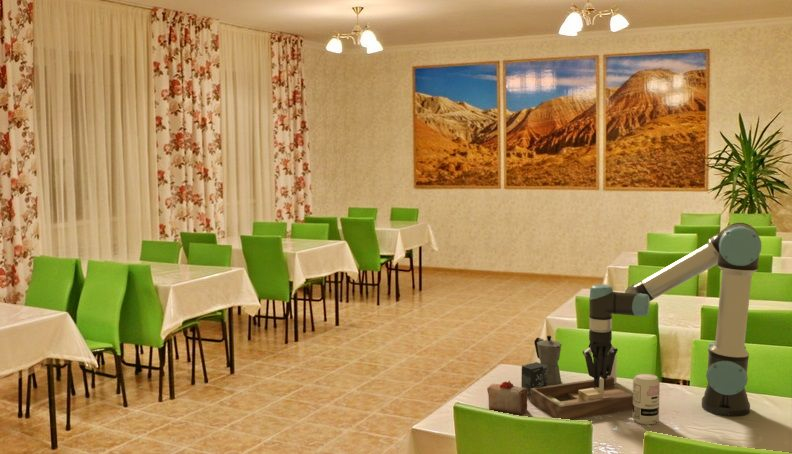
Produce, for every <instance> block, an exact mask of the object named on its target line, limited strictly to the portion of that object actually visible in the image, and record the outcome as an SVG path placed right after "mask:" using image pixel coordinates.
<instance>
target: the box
mask: <svg viewBox="0 0 792 454" xmlns="http://www.w3.org/2000/svg"><path fill="white" fill-rule="evenodd" d="M544 386H548V384H547V365H544V364H541V363H540V362H537V361H536V362H532V363H527V364H522V365H521V387H522V388H527V397H528V396H529V397H531V388H537V387H544Z"/></svg>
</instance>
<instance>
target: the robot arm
mask: <svg viewBox="0 0 792 454" xmlns="http://www.w3.org/2000/svg"><path fill="white" fill-rule="evenodd" d="M761 251H762V240H761V238H760V236H759V233H758V231H757V230H756V229H755V228H754V226H752V225H750V224H748V223H745V222H735V223H731V224H729V225H727V226H726V227H725V228H723V229H722V230H721V231H720V232H718V233H717V234H715V235H713V236H712V237H710V238H709V239H707V243H705V244H704V245H702V246H700V247H698V248H697V249H695V250H693V251H692V252H690V253H688V254H686V255H685V256H682V257H681V258H679V259H678V260H676V261H674V262H672V263H671V264H669V265H667V266H665V267H663V268H662V269H660V270H658V271H656V272H655V273H653V274H651V275H649V276H647V277H645V278H643V279H642V280H641V281H638V282H637V283H635V284H631V285H630V286H628V287H627V288H626V290H625V291H624V292H621V291H620V292H618V291H614V290H613V287H612V286H611V285H610V284H605V283H603V284H598V283H597V284H594V285H592V286H590V289H589V298H588V299H589V315H588V316H589V323H588V324H589V327H588V328H589V332H588V341H589V344H588V348H586V349H585V350H582V354H583V356H584V358H585V363H586V367H587V372H588V376H590V377H591V378H593V379H594V387H596V390H598V391H600V392H602V393H603V397H604V387H605V385H606V384H605V383H606V379H607V378H608V377H607V376H610V375H611V372H612V367H613V363H614V358H615V354H616V355H617V352H618V351H619V350H618V348H616V347H615V346H614V345H613V343H612V339H613V332H612V329H613V315H623V316H635V317H646V316H649V313H650V303H651V301H653V300H655V299H657V298H658V297H660V296H662V295H664V294H665V293H667V292H669V291H671V290H673V289H675V288H676V287H677V288H678V286H681V285H683V284H684V283H686V282H687V281H689V280H691V279H693V278H694V277H697V276H699V275H700V274H703V273H704V272H705V271H707V270H710V269H712V268H713V267H716V266H717V268H719V269H720V271H721V281H720V290H719V291H720V292H719V300H718V302H719V303H718V310H717V320H716V321H717V323H716V331H715V332H716V333H715V339H714V341H711V342H709V344H708V348H707V352H708V354H707V355H708V358H707V369H706V370H707V371H706V373H705V375H706V381H707V385H706V388H705V392H704V394H703V397H702V398H701V408H702V409H704V410H705V411H707V412H709V413H712V414H716V415H720V416H727V417H729V416H730V417H741V416H740V415H742V416H746V415H748V414H750V413H751V404H750V401H749V398H748V394H747V391H746V386H747V383H748V380H749V377H748V367H749V359H750V358H749V357H750V353H749V352H748V351H747V348H746V347H747V346H746V345H745V344H746V336H747V335H746V334H747V326H748V325H747V324H748V314H749V304H750V295H751V285H752V275H753V274H754V273H757V271H758V269H759V261H760V253H761ZM612 345H613V346H612ZM745 414H746V415H745Z"/></svg>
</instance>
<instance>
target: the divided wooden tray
mask: <svg viewBox="0 0 792 454" xmlns="http://www.w3.org/2000/svg"><path fill="white" fill-rule="evenodd" d="M605 384H606V385H605V387H604V397H603V399H596V400H590V401H583V402H579V401H578V390H582V389H589V388H594V389H596V387H594V378H593V379H588V380H580V381H575V382H573V381H572V382H566V383H558V384H553V385H547V386H544V387H537V388H531V396H530V403H531V404H532V405H535V406H536V407H537V408H539V409H541V410H542V411H544V412H545V413H547V414H548V415H550V416H552V417H553V418H554V419H556V418H561V419H572V420H577V419H583V418H591V417H597V416H602V415H608V414H615V413H621V412H627V411H633V393H629V392H627V391H625V390H623V389H622V388H620V387H617V386H616V385H615V384H614V378H613V377H608V378H607V379H606V383H605Z"/></svg>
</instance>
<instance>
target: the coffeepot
mask: <svg viewBox="0 0 792 454" xmlns="http://www.w3.org/2000/svg"><path fill="white" fill-rule="evenodd" d="M546 338H547V339H543V338H540V337H536V338H535V340H534V347H535V352H536V356H537V359H539V363H541V364H544V365H547V386H551V385H558V384H561V382H562V378H561V377H562V376H561V372H560V365H559V364H558V363H559V361H560V357H561V352H562V343H561V342H560V341H558V340H557V341H556V340H552V335H546Z"/></svg>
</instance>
